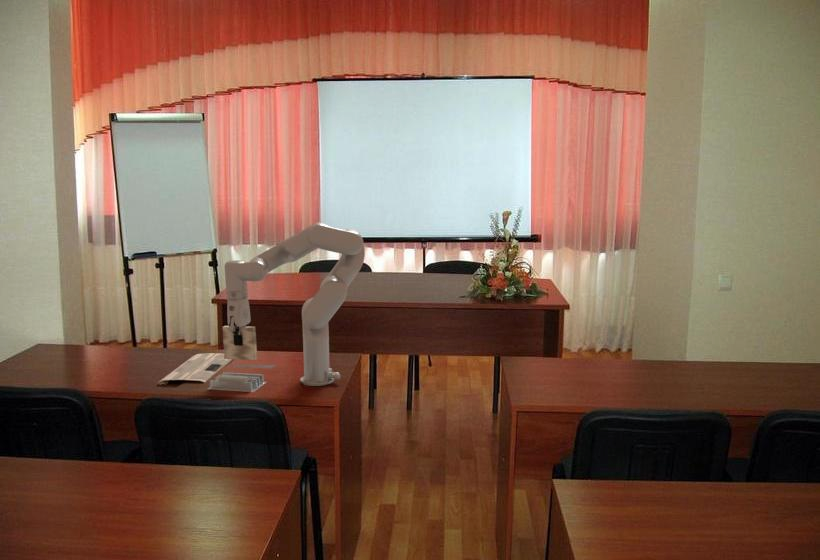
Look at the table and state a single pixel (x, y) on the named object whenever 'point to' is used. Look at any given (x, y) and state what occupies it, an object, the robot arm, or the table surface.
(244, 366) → the play button award
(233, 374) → the slot rack
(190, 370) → the newspaper
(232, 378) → the offcut block
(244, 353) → the birch sheet
